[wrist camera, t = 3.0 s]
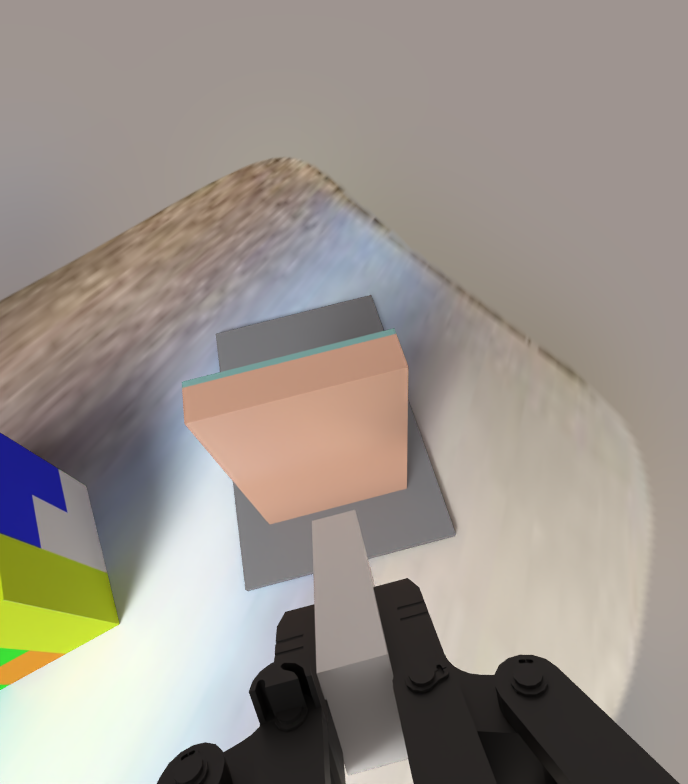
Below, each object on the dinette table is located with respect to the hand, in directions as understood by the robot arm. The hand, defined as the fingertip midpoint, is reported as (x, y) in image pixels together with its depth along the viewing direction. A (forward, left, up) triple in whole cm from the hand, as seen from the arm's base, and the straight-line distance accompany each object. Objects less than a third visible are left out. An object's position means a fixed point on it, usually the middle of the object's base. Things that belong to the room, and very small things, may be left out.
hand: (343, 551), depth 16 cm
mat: (-9, +9, -14) cm, 19 cm away
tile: (-5, +5, -13) cm, 15 cm away
